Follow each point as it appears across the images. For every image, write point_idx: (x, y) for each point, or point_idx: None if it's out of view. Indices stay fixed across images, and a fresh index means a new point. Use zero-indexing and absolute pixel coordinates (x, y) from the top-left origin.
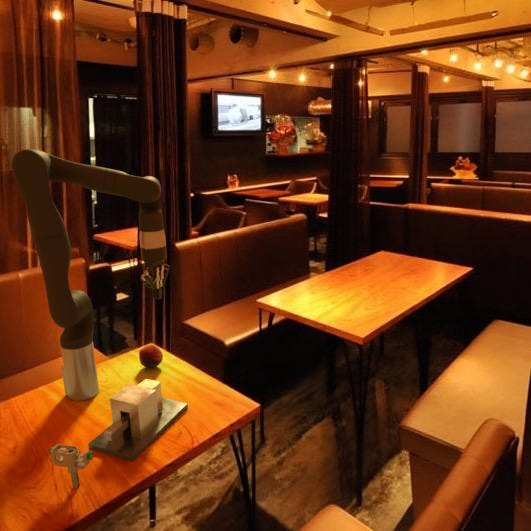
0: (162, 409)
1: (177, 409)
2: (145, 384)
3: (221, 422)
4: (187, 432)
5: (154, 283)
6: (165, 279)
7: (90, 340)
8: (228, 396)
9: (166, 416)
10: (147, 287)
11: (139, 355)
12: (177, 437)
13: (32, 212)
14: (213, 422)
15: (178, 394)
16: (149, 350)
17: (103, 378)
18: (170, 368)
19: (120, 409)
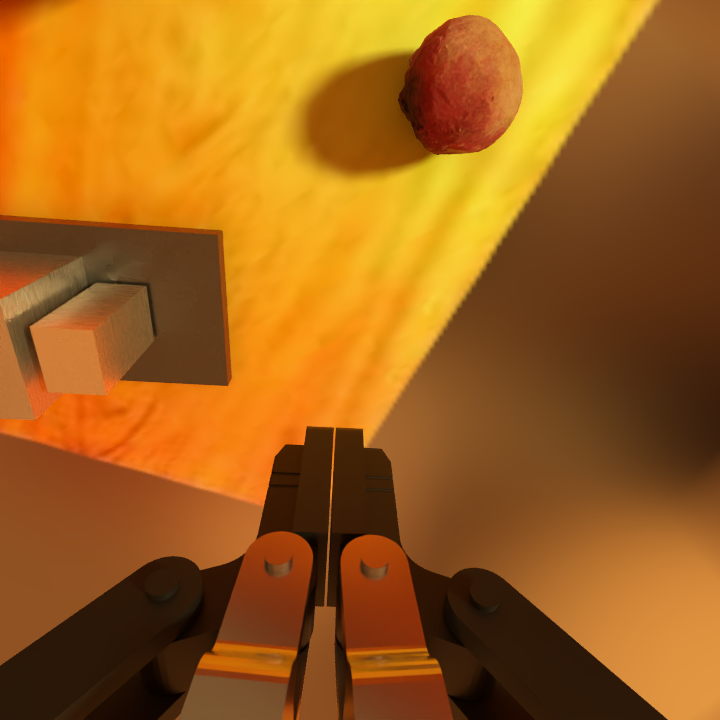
0: (151, 341)
1: (185, 373)
2: (56, 352)
3: (212, 477)
4: (132, 425)
5: (340, 595)
6: (494, 705)
7: None
8: (333, 450)
9: (138, 361)
10: (150, 565)
11: (431, 34)
12: (100, 412)
13: None
14: (203, 461)
15: (289, 315)
16: (440, 106)
17: None
18: (457, 188)
19: None
